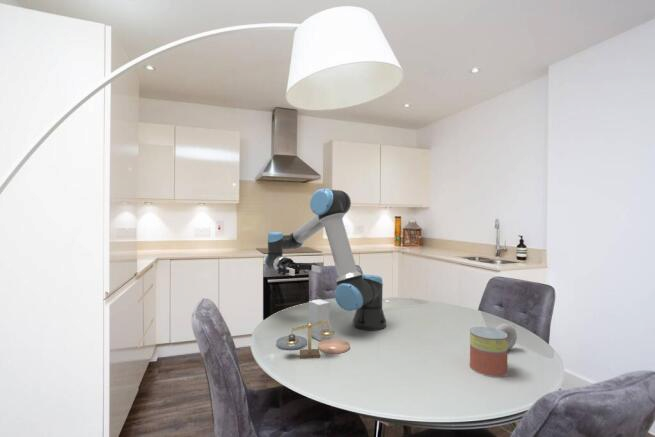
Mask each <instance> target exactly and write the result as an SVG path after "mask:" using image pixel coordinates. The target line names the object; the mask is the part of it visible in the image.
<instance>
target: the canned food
mask: <svg viewBox="0 0 655 437" xmlns="http://www.w3.org/2000/svg"><path fill="white" fill-rule="evenodd" d="M508 351H509V350H508V334H507V333H505V332H504V331H501V330H498V329H495V328H492V327H487V326H475V327H472V328H470V329H469V368H470V369H471V370H472V371H474V372H475V373H476V374H480V375H483V376H485V377H490V378H503V377H505V376H507V375H508V373H509V370H508Z"/></svg>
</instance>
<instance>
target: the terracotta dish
mask: <svg viewBox="0 0 655 437" xmlns="http://www.w3.org/2000/svg"><path fill="white" fill-rule="evenodd" d="M317 349H319V352H322V353H326V354H331V355H332V354H334V355H335V354H336V355H337V354H338V355H339V354H342V353H346V352H348V351H349V350H350V343H349V341H347V340H345V339H341V338H334V337H333V338H332V337H331V338H330V339H325V340H321V341H319V342H317Z"/></svg>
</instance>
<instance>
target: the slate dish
mask: <svg viewBox="0 0 655 437" xmlns="http://www.w3.org/2000/svg"><path fill="white" fill-rule="evenodd" d="M288 336H289V335H284V336H282V337H281V336H280V337H279V338H277V339H276V341H275V343H276V344H275V345H276V346H275V347H277V348H278V349H281V350H284V351H297V350H302V349H304V348H305V347H307V346H308V338H306V337H304V336H301V335H295V338H297V339H298V340H299V343H297V344H293V345H290V344H286V343H285V340H286V339H288Z"/></svg>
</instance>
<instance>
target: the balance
mask: <svg viewBox="0 0 655 437" xmlns="http://www.w3.org/2000/svg"><path fill="white" fill-rule="evenodd" d="M326 323H327V330H322V331H320V334H321V335H325V336H330V335H331V336H333V335H335V331H334V330H332V329H331V330H328V322H327V320H326V321H321V322H317V323H313V324H311V323H307V324H306V325H302V326H297V327H293V328H291V332H290V333H291V334H289V335H287V336H288V339H286V340H285V343H286V344H290V345H293V344H297V343H299V340H298V339H297V338H295V336H296V334H294V333H293V332H297V331H299V330H301V331H302V330H305V329H307V349H304V348H301V349H299V359H300V360H302V359H304V360H305V359H320V358H321V356H320V355H321V354H320V350H319V349H318V348H312V336H311V328H312V327H314V326H318V325H322V324H326Z"/></svg>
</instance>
